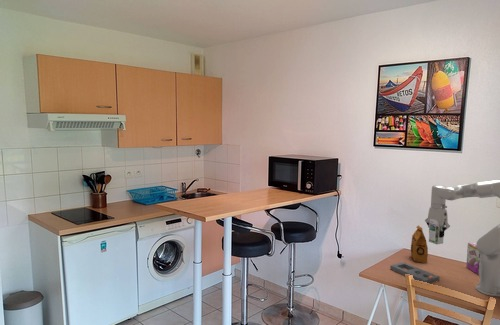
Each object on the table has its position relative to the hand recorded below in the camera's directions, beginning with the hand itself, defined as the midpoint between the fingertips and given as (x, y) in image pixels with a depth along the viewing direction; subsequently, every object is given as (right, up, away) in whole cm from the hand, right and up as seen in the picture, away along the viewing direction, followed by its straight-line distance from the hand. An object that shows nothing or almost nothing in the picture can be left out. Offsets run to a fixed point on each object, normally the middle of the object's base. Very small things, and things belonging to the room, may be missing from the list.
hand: (436, 235), depth 202 cm
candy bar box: (+27, -24, +5) cm, 36 cm away
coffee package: (+2, -22, +24) cm, 32 cm away
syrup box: (0, -5, 0) cm, 5 cm away
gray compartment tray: (-13, -24, 0) cm, 27 cm away
